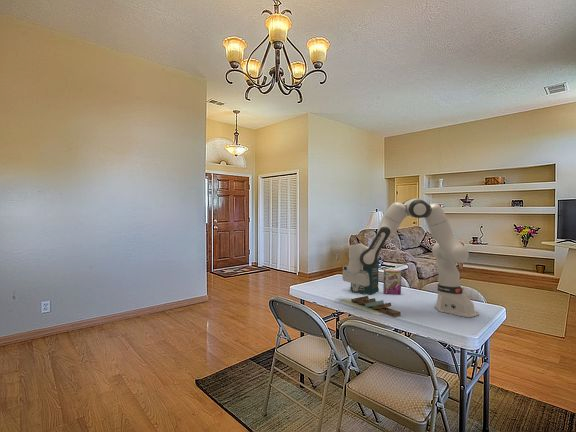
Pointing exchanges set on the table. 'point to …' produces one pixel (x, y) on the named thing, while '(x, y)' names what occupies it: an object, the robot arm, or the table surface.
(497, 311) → the table surface
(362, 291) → the donation box
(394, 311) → the tile
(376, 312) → the felt mat
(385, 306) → the tile
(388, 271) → the candy bar box
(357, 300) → the tile
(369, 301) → the tile
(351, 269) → the robot arm
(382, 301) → the teal tile
